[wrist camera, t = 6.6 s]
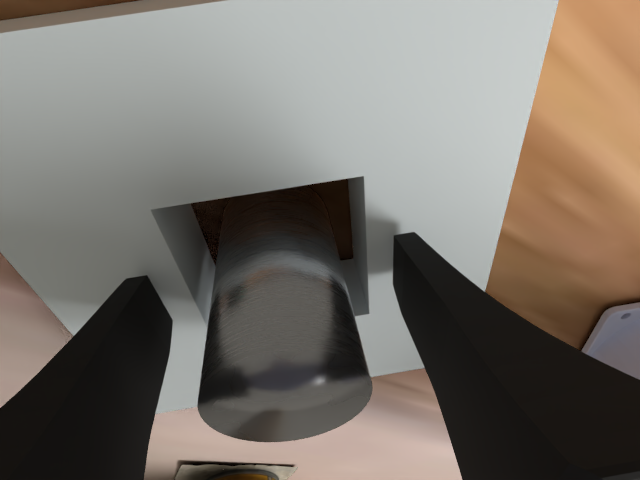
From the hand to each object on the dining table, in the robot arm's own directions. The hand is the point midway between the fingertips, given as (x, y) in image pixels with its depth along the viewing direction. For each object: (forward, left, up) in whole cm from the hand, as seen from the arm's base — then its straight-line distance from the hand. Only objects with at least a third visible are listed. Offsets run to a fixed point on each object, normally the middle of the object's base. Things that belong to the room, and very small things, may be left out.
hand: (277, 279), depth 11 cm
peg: (0, 0, -3) cm, 3 cm away
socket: (0, 0, -3) cm, 3 cm away
